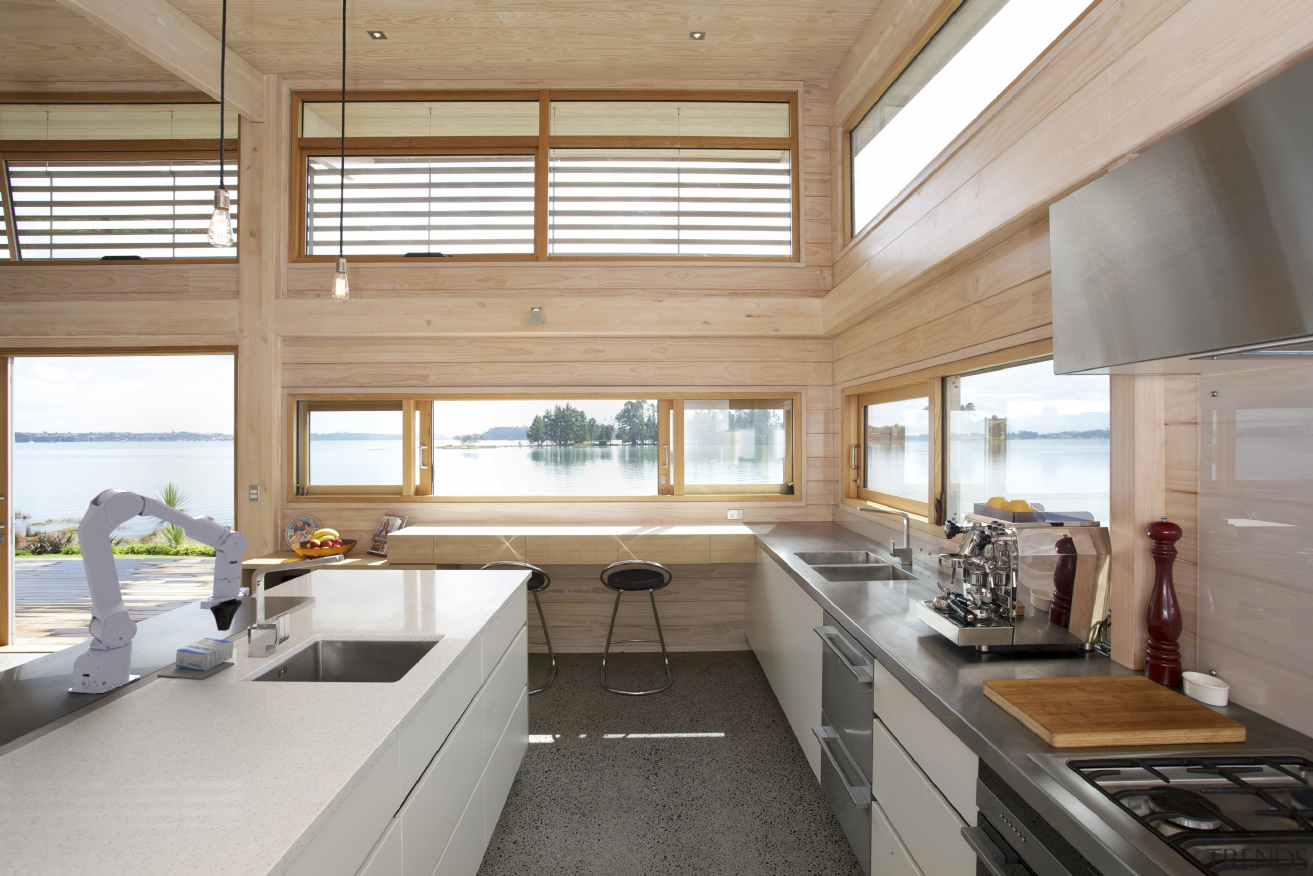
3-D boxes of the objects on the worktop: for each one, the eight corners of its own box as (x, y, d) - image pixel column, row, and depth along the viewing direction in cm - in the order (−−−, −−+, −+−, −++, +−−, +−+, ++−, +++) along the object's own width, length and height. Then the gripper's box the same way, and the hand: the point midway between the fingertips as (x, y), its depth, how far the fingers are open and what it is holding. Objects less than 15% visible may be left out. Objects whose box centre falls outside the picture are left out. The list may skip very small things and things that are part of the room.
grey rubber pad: (203, 679, 139) (203, 677, 139) (157, 676, 140) (157, 674, 140) (234, 664, 149) (234, 662, 149) (191, 661, 150) (191, 659, 150)
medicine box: (234, 641, 151) (205, 653, 143) (233, 658, 151) (204, 672, 143) (206, 637, 152) (175, 649, 143) (204, 654, 152) (174, 667, 144)
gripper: (221, 584, 146) (217, 639, 145) (261, 572, 160) (258, 622, 160) (193, 582, 146) (189, 638, 145) (236, 570, 160) (232, 621, 160)
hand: (223, 630), depth 153 cm, fingers closed
